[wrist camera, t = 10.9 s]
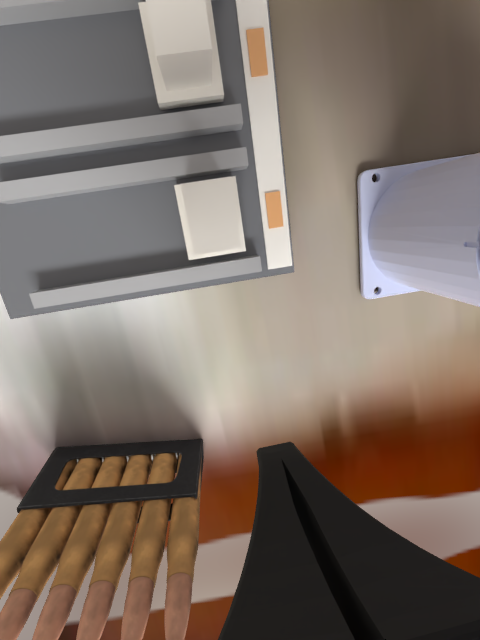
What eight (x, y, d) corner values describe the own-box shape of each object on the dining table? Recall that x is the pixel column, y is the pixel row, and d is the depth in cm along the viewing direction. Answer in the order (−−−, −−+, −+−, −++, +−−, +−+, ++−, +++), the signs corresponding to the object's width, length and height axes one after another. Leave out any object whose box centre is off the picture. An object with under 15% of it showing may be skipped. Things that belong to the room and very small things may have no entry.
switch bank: (255, -2, 16) (268, -65, 12) (284, 267, 20) (299, 274, 17) (-64, 36, 15) (-142, -20, 12) (35, 307, 19) (-2, 324, 16)
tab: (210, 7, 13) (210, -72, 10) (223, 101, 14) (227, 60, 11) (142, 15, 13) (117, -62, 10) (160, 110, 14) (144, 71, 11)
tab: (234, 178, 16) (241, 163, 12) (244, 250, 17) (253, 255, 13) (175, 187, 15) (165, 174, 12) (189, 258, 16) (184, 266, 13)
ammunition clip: (58, 468, 23) (-96, 713, 11) (54, 447, 22) (-112, 681, 11) (203, 459, 24) (198, 675, 12) (202, 438, 23) (196, 644, 12)
